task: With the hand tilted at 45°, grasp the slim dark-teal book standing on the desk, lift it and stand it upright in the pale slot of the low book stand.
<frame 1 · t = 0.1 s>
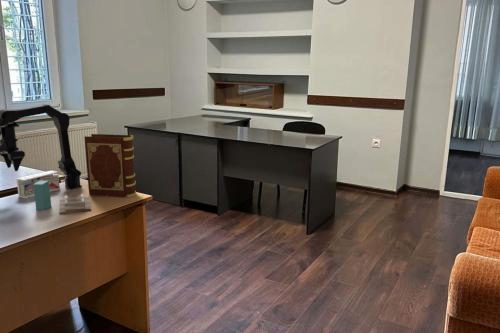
hand: (12, 169, 198), 15 cm above the table, tool pointing down, fingers open, 9 cm apart
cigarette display: (41, 193, 211), on the table
book stand: (75, 206, 191), on the table
teal book: (43, 207, 189), on the table
decorative book: (113, 194, 210), on the table
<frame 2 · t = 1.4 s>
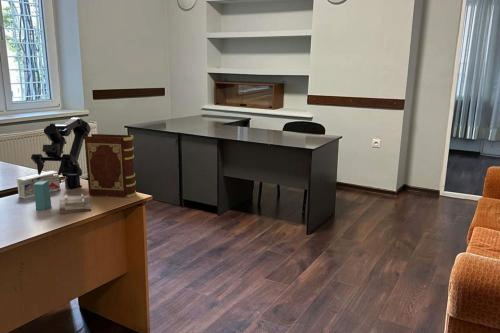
hand: (48, 174, 194), 13 cm above the table, tool tilted 45°, fingers open, 9 cm apart
nothing on the table moved.
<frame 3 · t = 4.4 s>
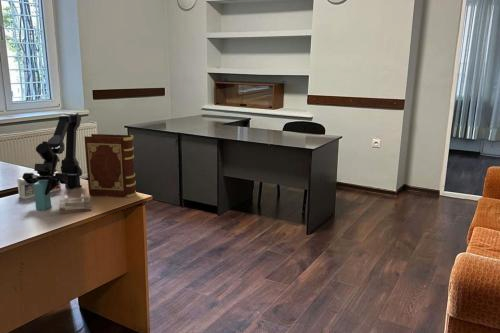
hand: (40, 194, 186), 7 cm above the table, tool tilted 45°, fingers closed on teal book, 4 cm apart
teal book: (43, 207, 189), on the table, touching gripper
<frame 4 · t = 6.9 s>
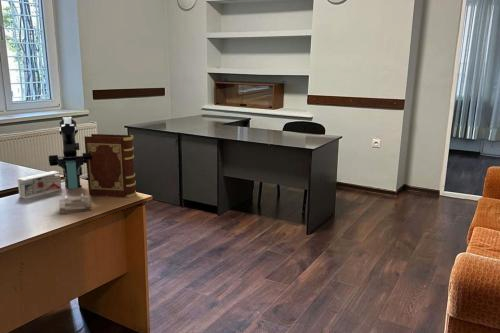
hand: (71, 174, 195), 13 cm above the table, tool tilted 45°, fingers closed on teal book, 4 cm apart
teal book: (73, 186, 198), point 7 cm above the table, touching gripper
when the fingers open (9 cm above the table, at t = 9.6 s): teal book drops 1 cm, resting on book stand.
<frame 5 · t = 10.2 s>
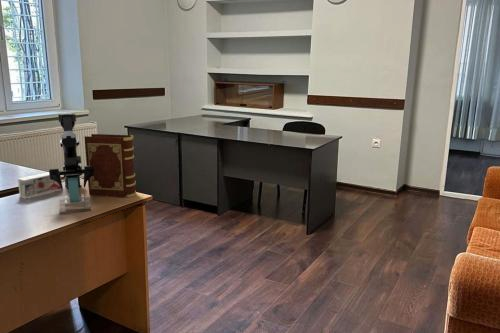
hand: (73, 188, 188), 9 cm above the table, tool tilted 45°, fingers open, 9 cm apart
teal book: (74, 204, 191), point 1 cm above the table, touching book stand
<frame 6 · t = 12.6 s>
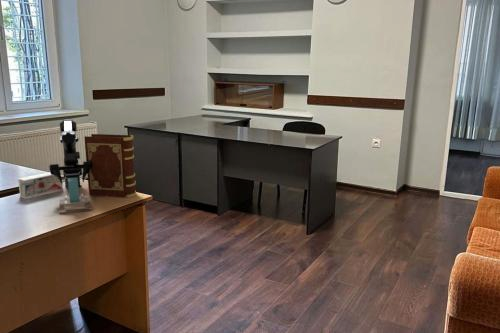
hand: (72, 183, 196), 9 cm above the table, tool tilted 45°, fingers open, 9 cm apart
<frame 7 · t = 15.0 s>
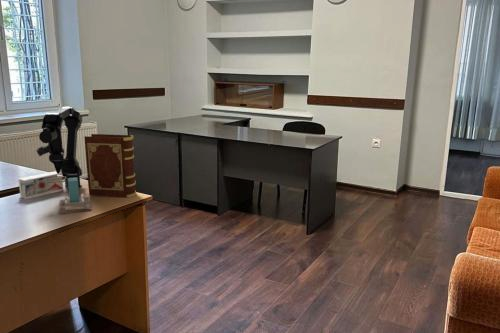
hand: (58, 171, 202), 13 cm above the table, tool pointing down, fingers open, 9 cm apart
at the end: teal book 0.0 cm off-centre on the book stand, point 1.0 cm above the book stand's base; teal book tilted 0°; the gripper is holding nothing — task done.
